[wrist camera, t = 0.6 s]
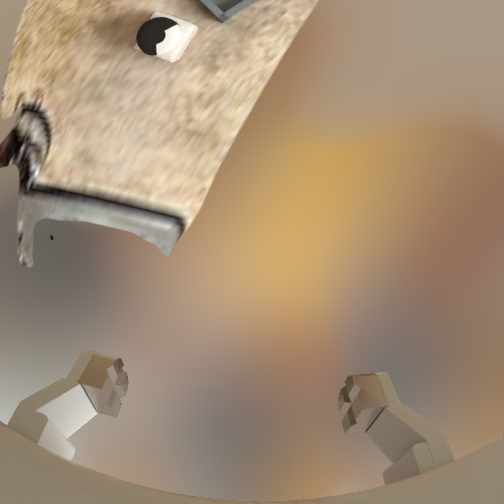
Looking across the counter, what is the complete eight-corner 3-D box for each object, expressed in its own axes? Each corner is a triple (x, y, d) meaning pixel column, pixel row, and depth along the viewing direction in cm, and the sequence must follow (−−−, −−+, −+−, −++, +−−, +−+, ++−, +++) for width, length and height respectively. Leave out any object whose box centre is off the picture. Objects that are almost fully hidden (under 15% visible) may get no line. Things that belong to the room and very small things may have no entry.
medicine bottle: (143, 46, 35) (122, 50, 26) (163, 13, 31) (146, 6, 22) (178, 60, 38) (166, 66, 29) (199, 27, 34) (193, 23, 25)
